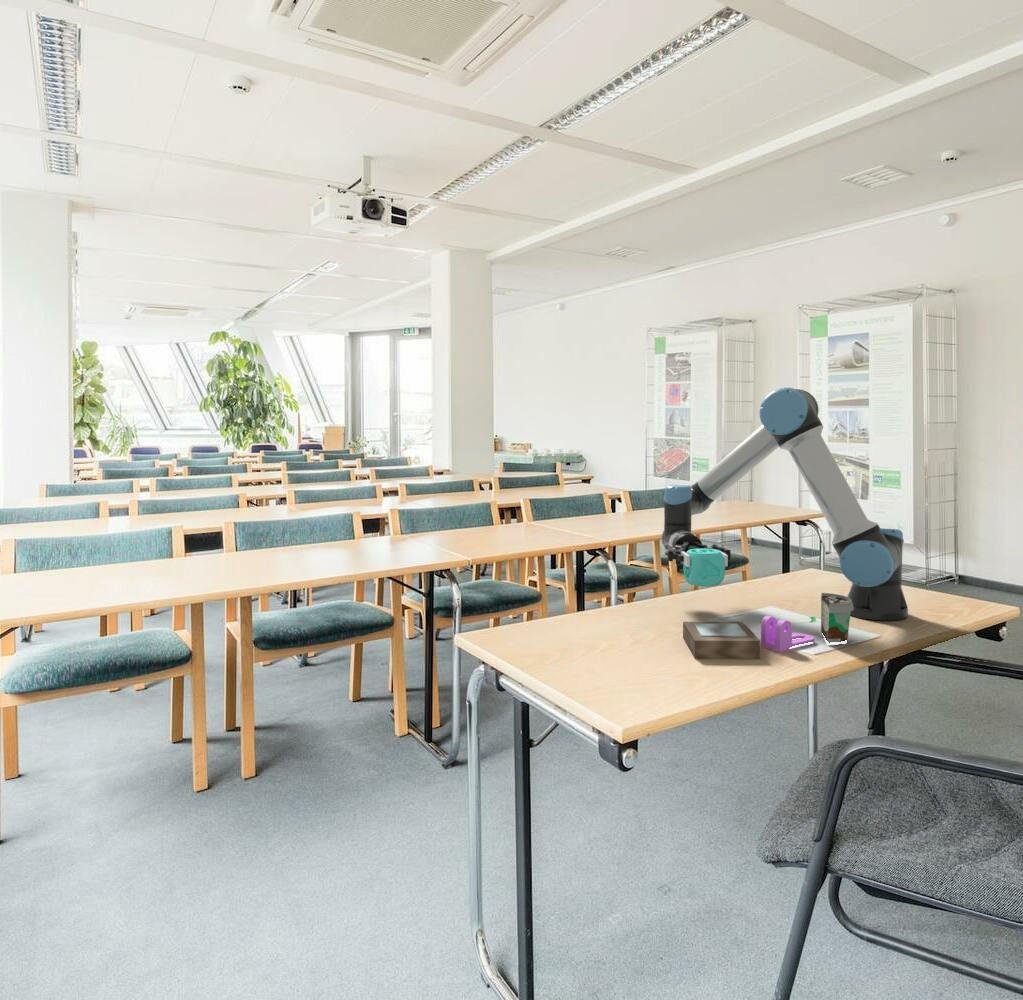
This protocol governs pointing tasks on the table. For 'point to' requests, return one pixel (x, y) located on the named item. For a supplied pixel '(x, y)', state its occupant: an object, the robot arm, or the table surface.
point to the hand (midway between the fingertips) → (707, 561)
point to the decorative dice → (705, 567)
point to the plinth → (721, 640)
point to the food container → (835, 616)
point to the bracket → (780, 635)
